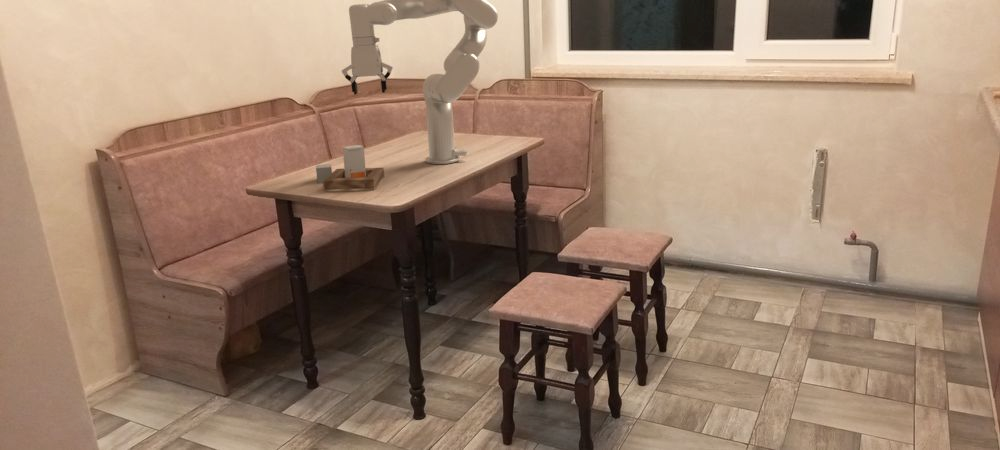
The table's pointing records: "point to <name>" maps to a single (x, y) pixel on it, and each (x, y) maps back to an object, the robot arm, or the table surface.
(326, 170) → the grey cube
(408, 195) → the table surface
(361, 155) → the skincare box
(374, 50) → the robot arm
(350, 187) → the socket block
